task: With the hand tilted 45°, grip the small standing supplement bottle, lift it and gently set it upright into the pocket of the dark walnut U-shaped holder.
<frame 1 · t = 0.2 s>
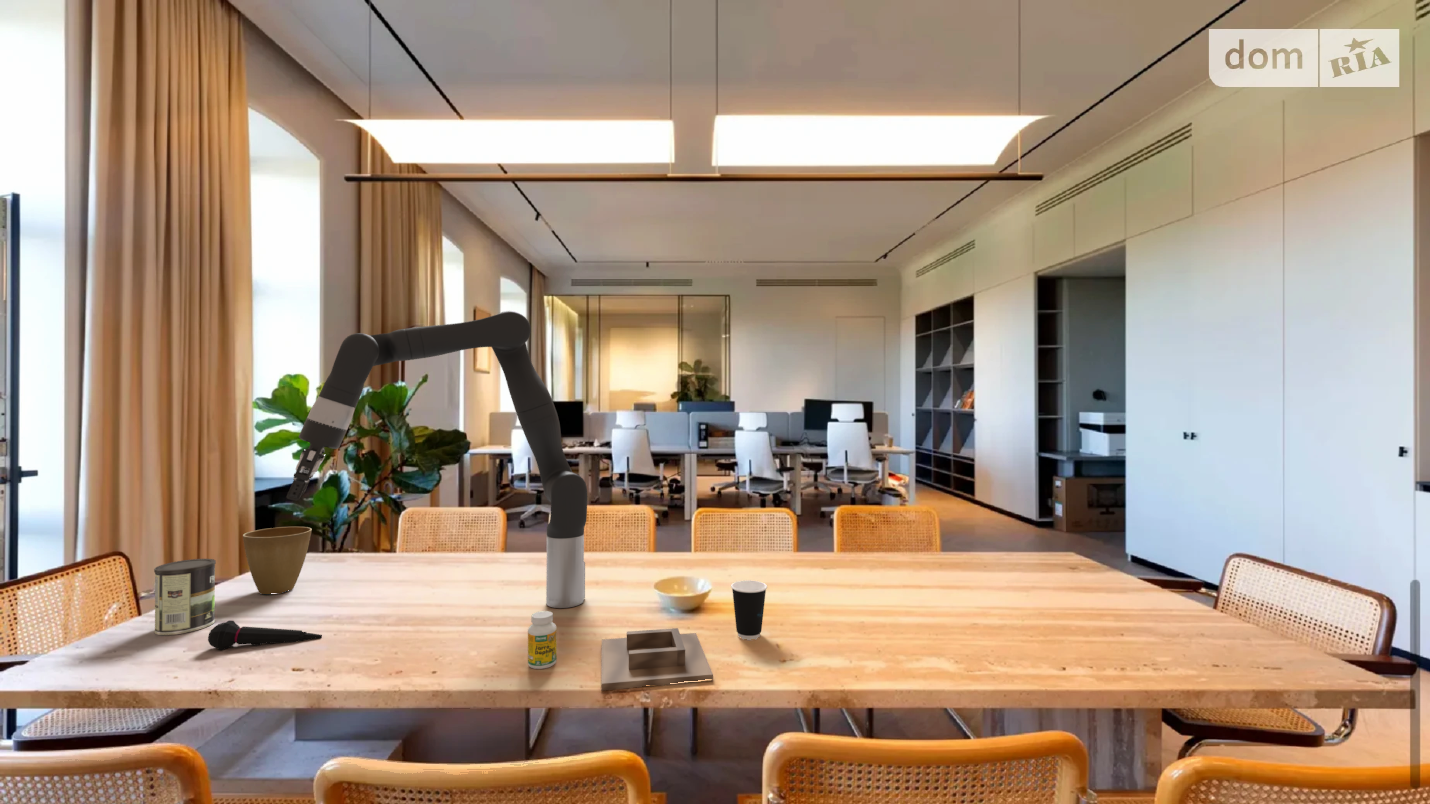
hand: (294, 497, 121), 31 cm above the table, tool tilted 20°, fingers open, 8 cm apart
supplement bottle: (542, 664, 114), on the table
microphone: (263, 646, 123), on the table
plant pot: (277, 591, 158), on the table
dixie cup: (748, 636, 129), on the table
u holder: (653, 661, 115), on the table
coffee can: (185, 627, 133), on the table
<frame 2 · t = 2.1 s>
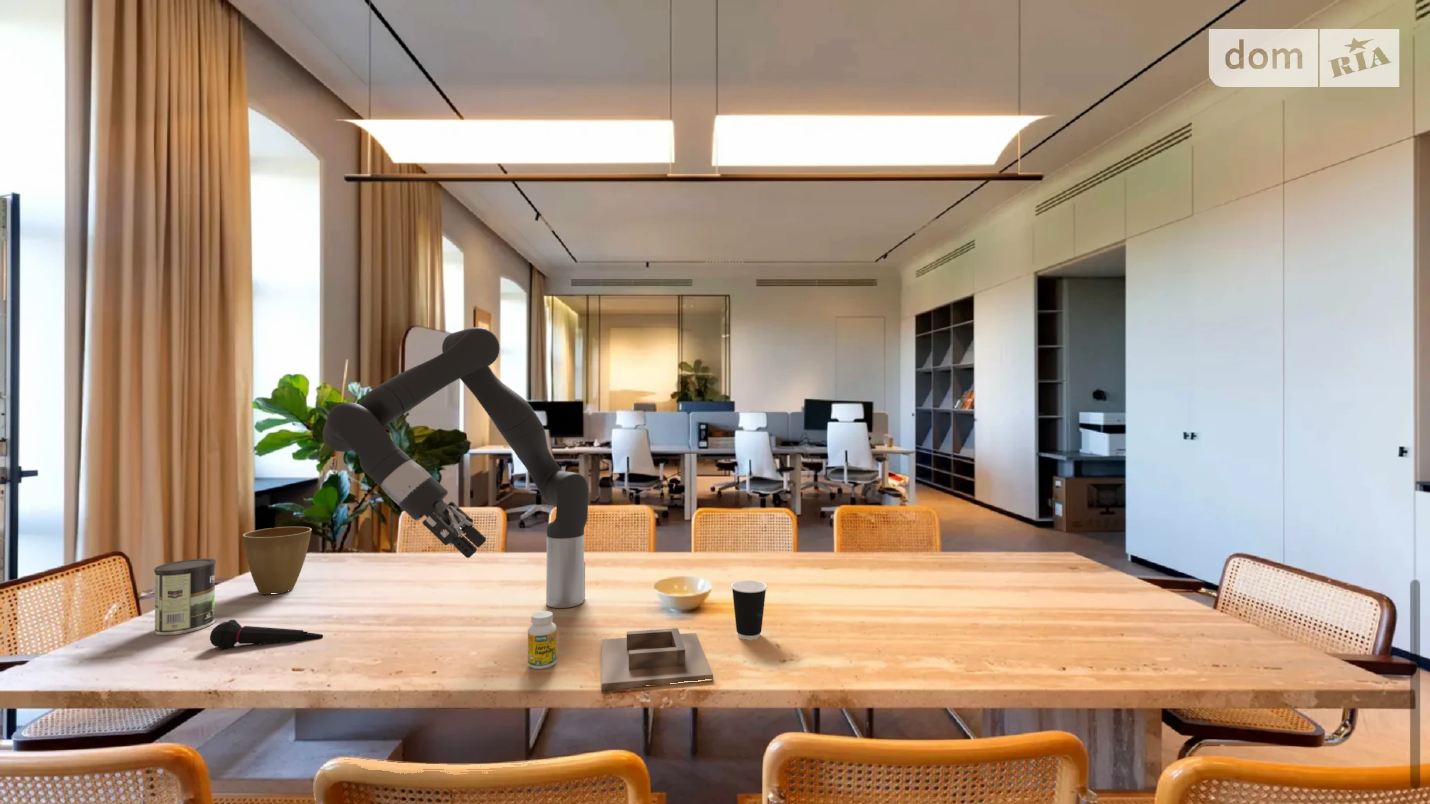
hand: (478, 548, 112), 23 cm above the table, tool tilted 45°, fingers open, 8 cm apart
nothing on the table moved.
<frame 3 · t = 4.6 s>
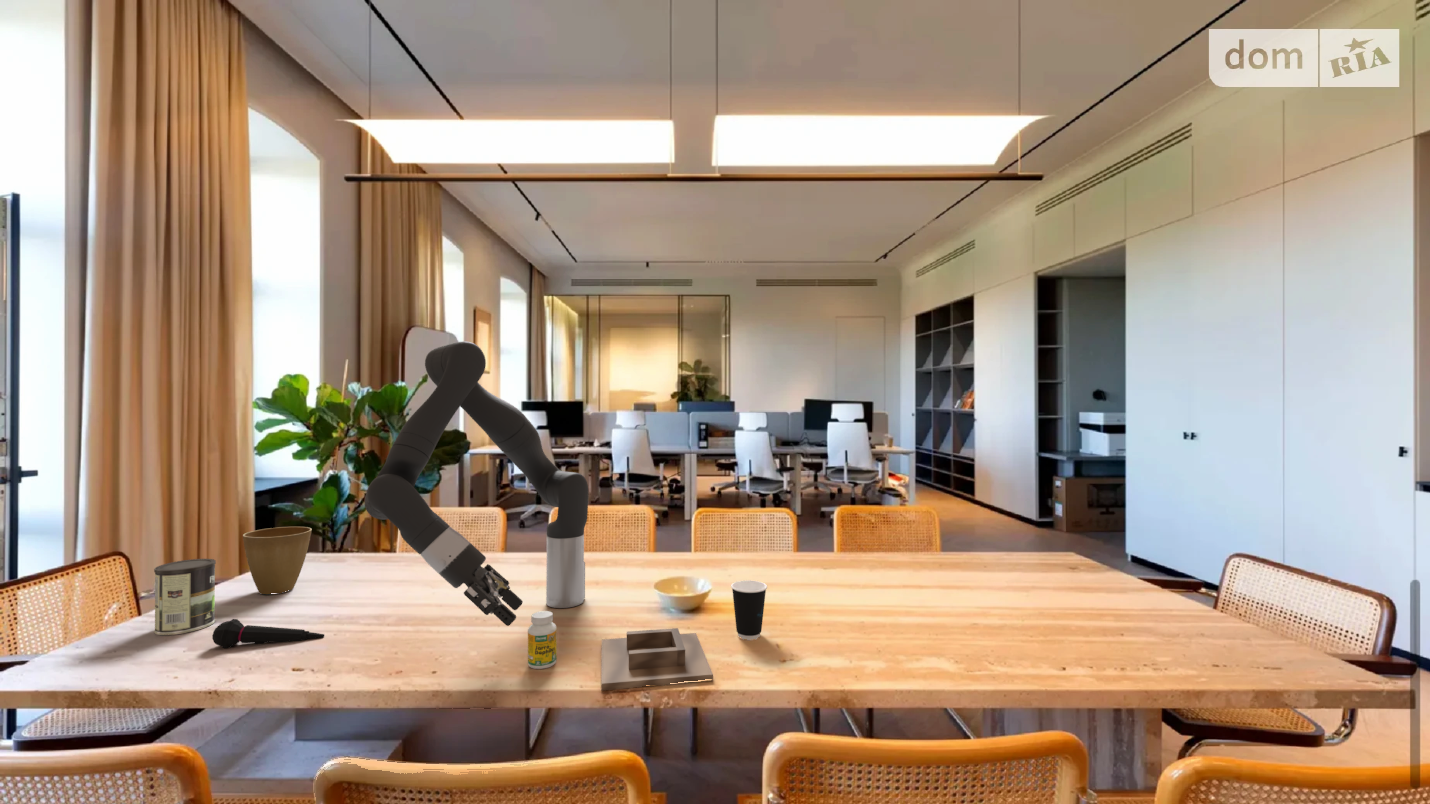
hand: (516, 613, 114), 10 cm above the table, tool tilted 45°, fingers open, 8 cm apart
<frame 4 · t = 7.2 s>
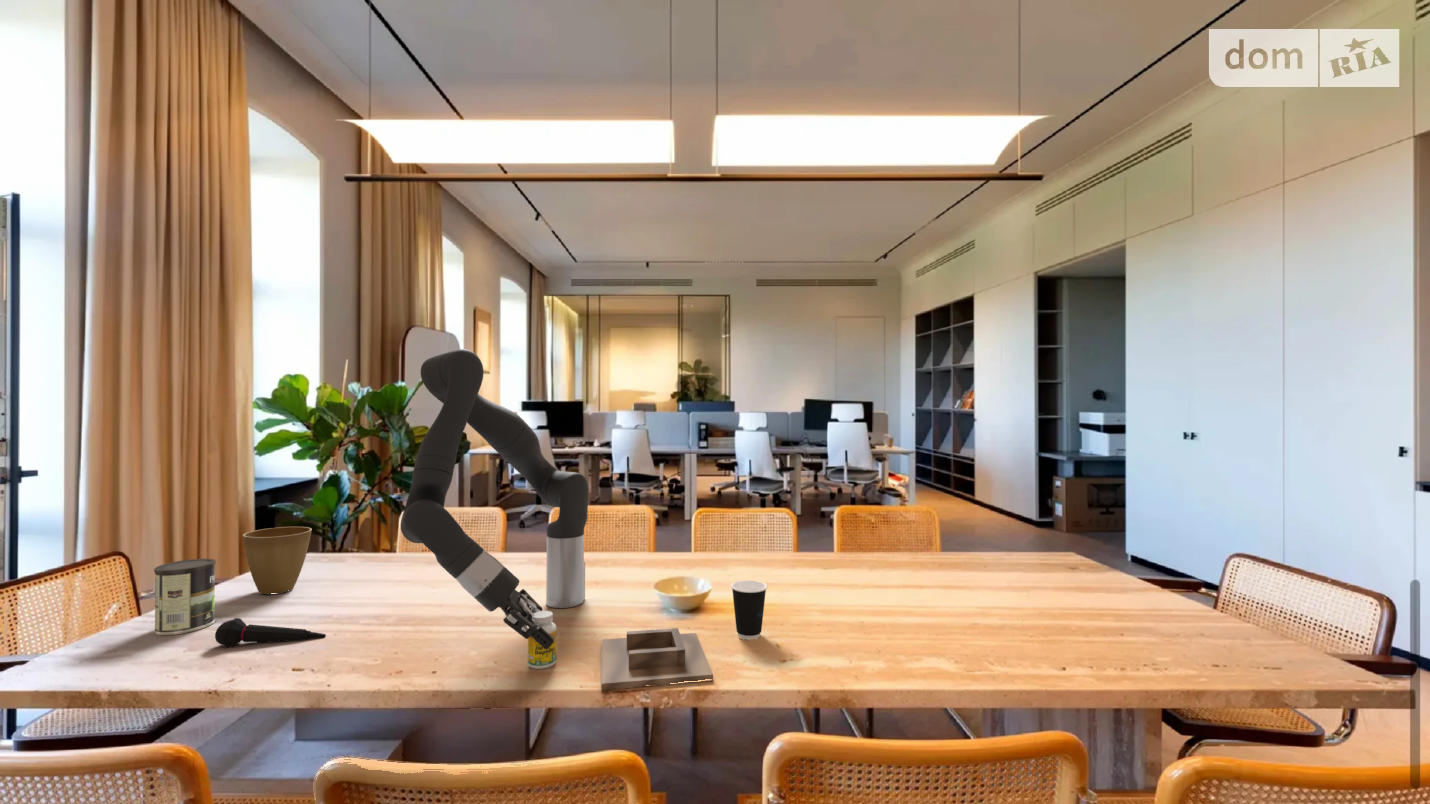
hand: (551, 638, 115), 5 cm above the table, tool tilted 45°, fingers closed on supplement bottle, 5 cm apart
supplement bottle: (542, 664, 114), on the table, touching gripper
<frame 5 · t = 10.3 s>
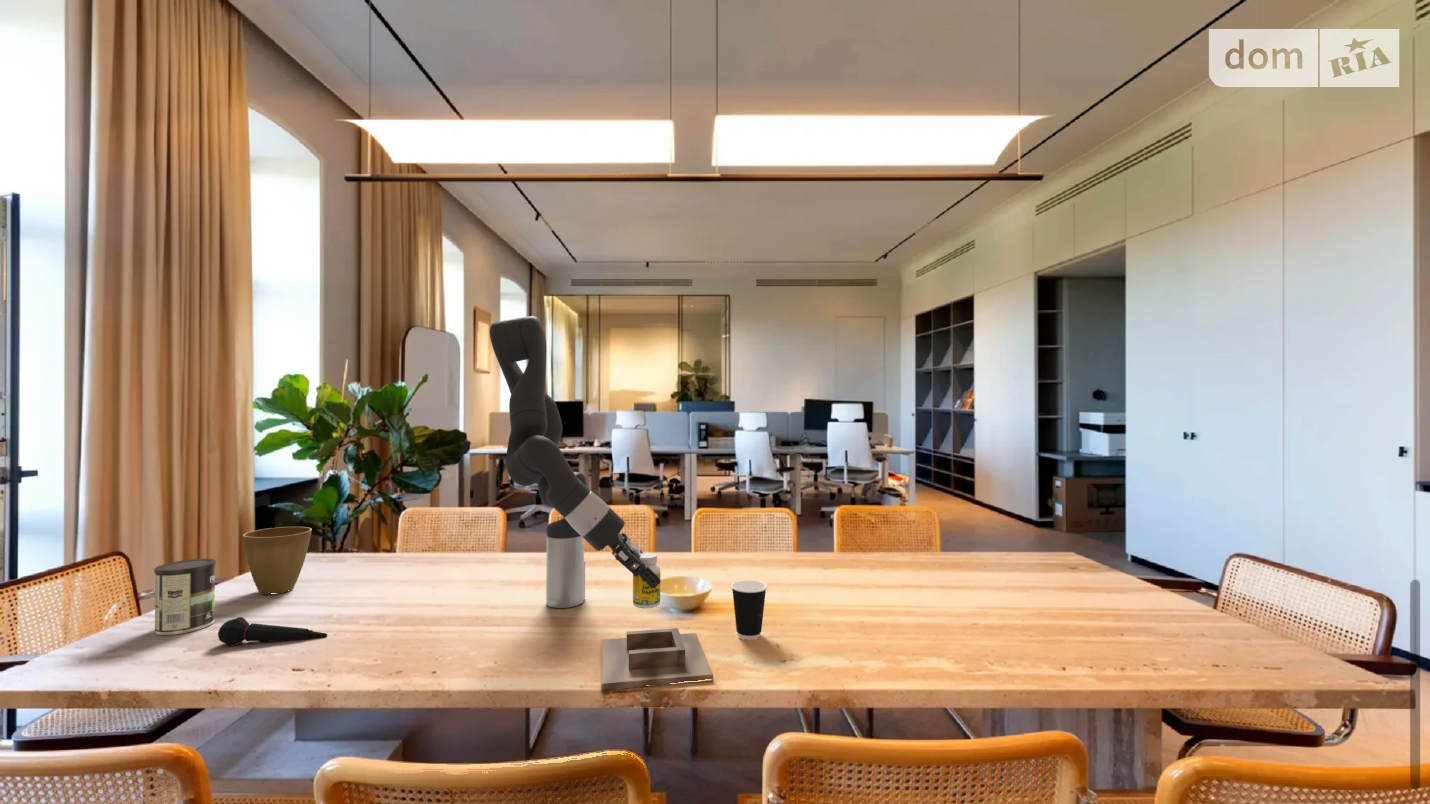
hand: (656, 579, 115), 16 cm above the table, tool tilted 45°, fingers closed on supplement bottle, 5 cm apart
supplement bottle: (646, 605, 115), point 11 cm above the table, touching gripper
when the fingers open (8 cm above the table, at t = 13.3 s): supplement bottle drops 2 cm, resting on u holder.
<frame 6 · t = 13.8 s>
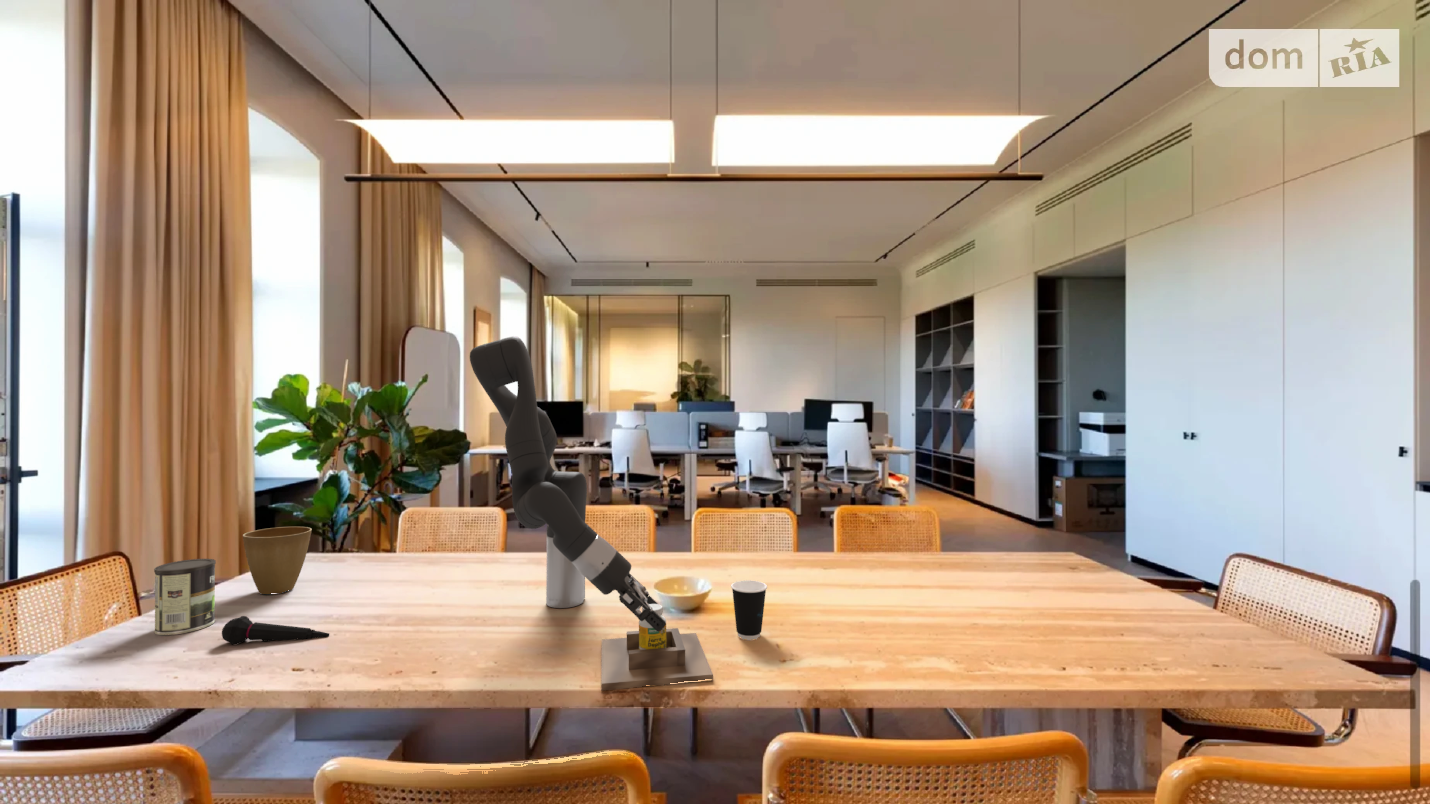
hand: (660, 619, 116), 8 cm above the table, tool tilted 45°, fingers open, 8 cm apart
supplement bottle: (652, 657, 115), point 1 cm above the table, touching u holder
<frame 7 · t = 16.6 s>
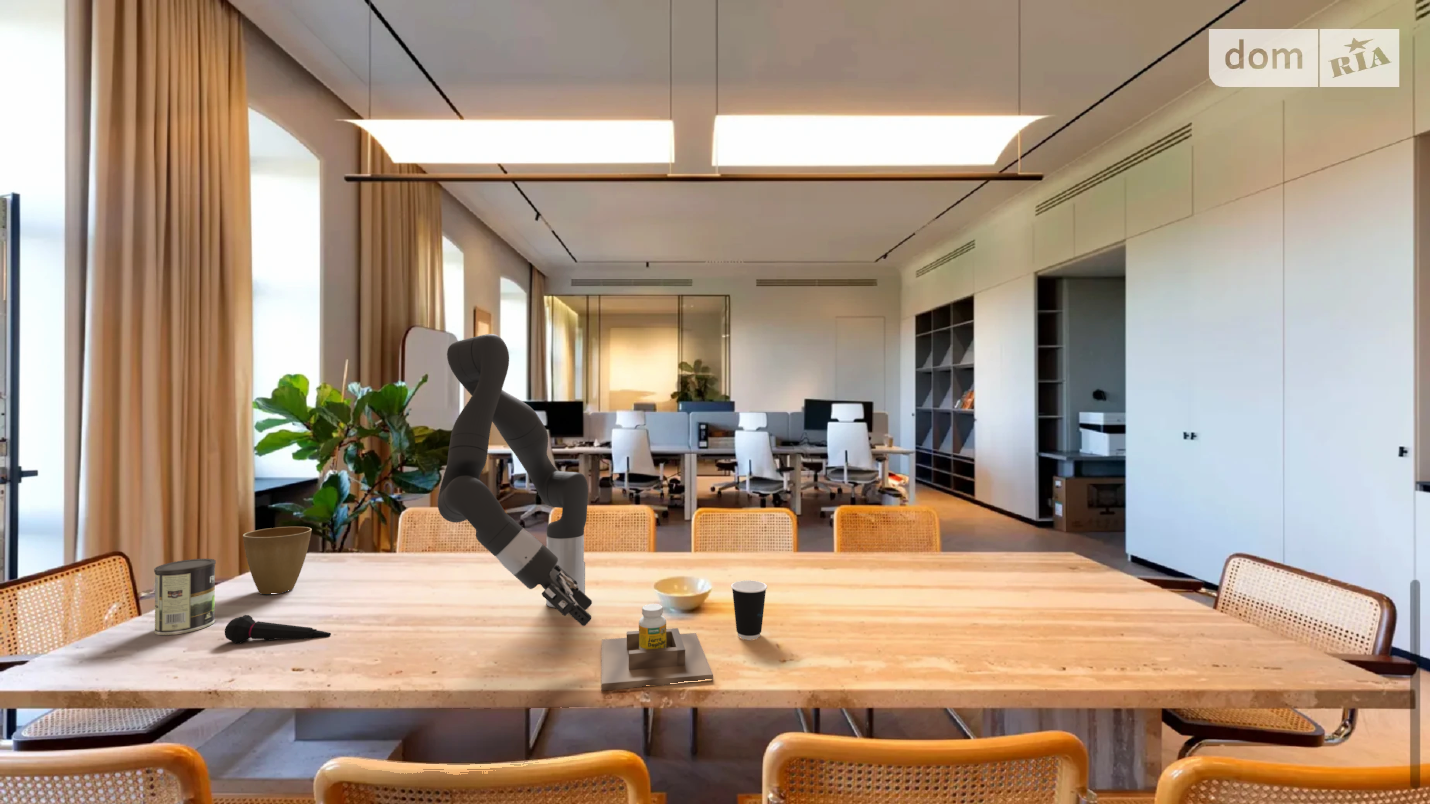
hand: (588, 613, 114), 10 cm above the table, tool tilted 45°, fingers open, 8 cm apart
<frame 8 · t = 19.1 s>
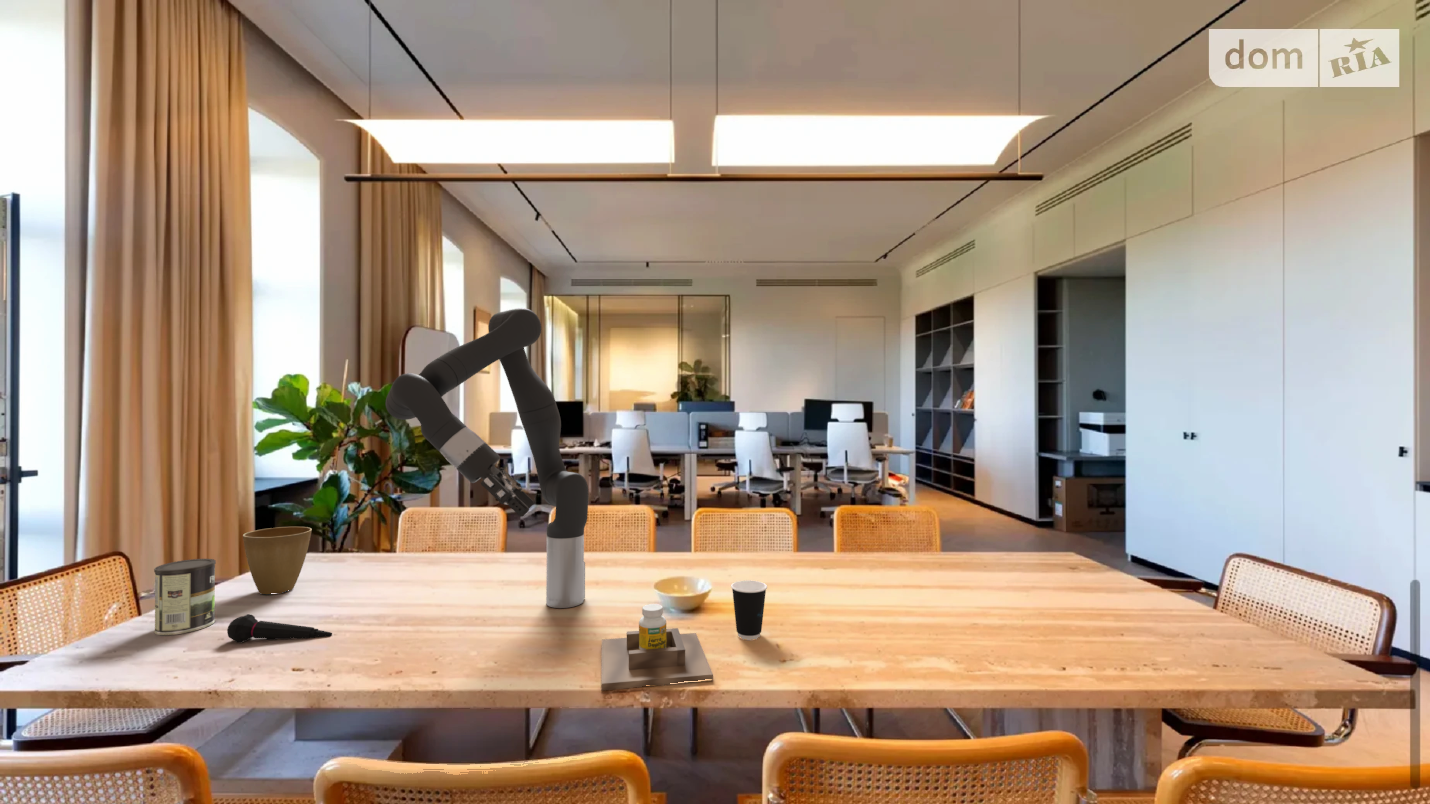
hand: (528, 509, 121), 29 cm above the table, tool tilted 45°, fingers open, 8 cm apart
at the end: supplement bottle 0.3 cm off-centre on the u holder, point 1.0 cm above the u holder's base; supplement bottle tilted 0°; the gripper is holding nothing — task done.
